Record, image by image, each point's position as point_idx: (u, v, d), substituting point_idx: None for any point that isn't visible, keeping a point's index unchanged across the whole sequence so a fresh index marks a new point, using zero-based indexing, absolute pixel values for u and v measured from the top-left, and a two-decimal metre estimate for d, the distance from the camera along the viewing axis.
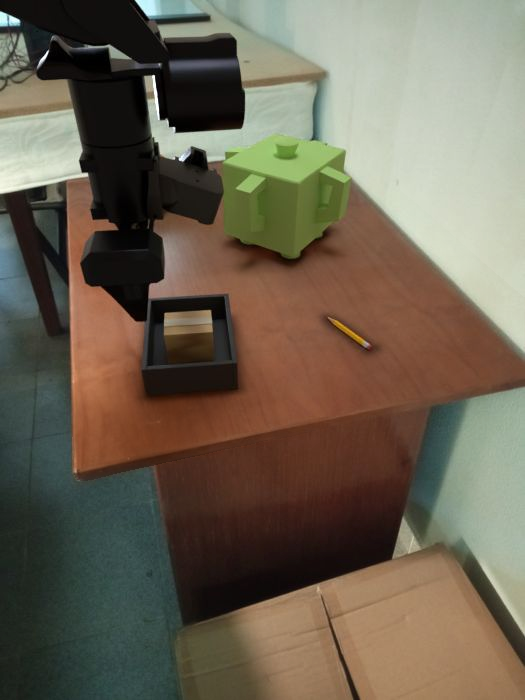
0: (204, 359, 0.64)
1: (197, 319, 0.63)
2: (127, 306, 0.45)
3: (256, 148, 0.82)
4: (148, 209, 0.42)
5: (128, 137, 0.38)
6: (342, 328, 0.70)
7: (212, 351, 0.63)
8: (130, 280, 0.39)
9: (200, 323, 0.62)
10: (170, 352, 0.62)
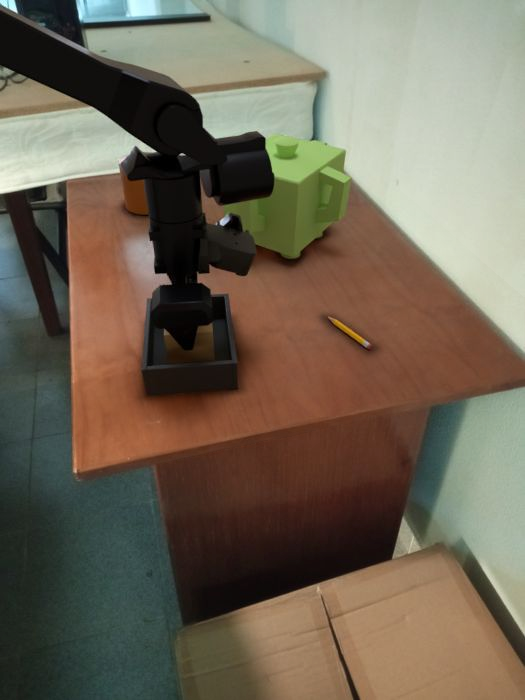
0: (204, 359, 0.64)
1: None
2: (179, 339, 0.57)
3: None
4: (198, 266, 0.54)
5: (191, 214, 0.50)
6: (342, 327, 0.70)
7: (212, 351, 0.63)
8: (188, 323, 0.51)
9: None
10: (170, 352, 0.62)
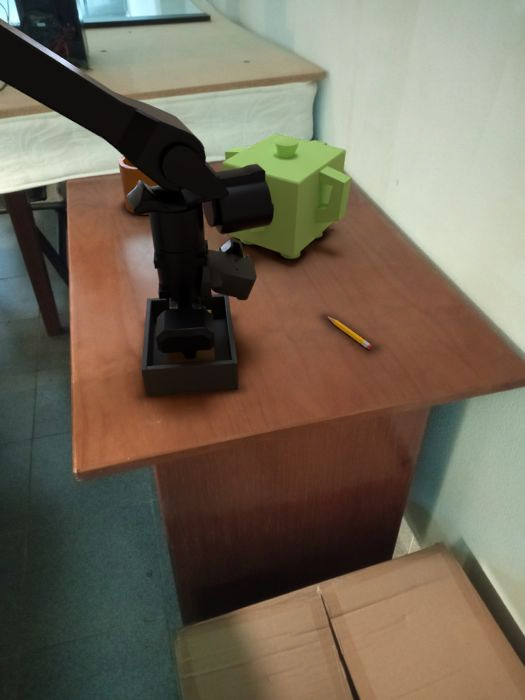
0: (204, 359, 0.64)
1: None
2: None
3: (256, 148, 0.82)
4: (201, 292, 0.56)
5: (194, 244, 0.53)
6: (342, 327, 0.70)
7: (212, 351, 0.63)
8: (191, 348, 0.53)
9: None
10: None
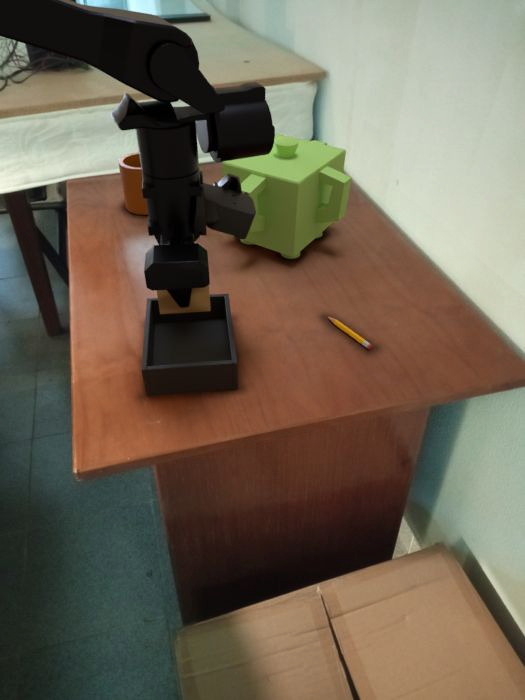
0: (199, 309, 0.59)
1: None
2: (175, 294, 0.56)
3: None
4: (195, 227, 0.51)
5: (187, 169, 0.48)
6: (342, 327, 0.70)
7: (208, 299, 0.58)
8: (183, 285, 0.48)
9: None
10: (162, 300, 0.57)
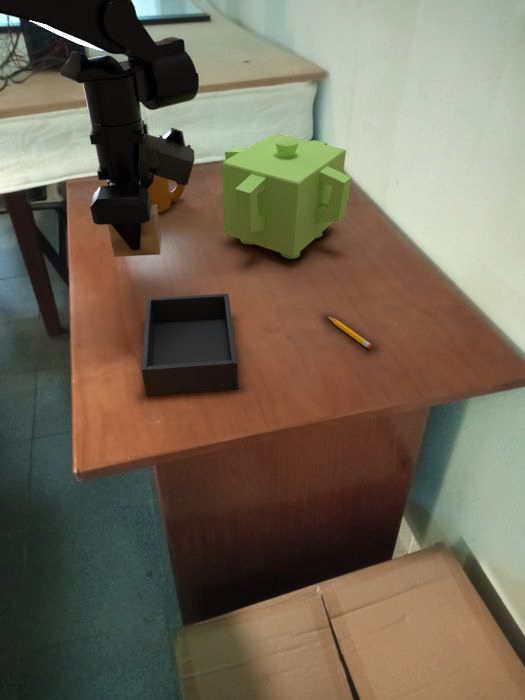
0: (149, 252, 0.66)
1: None
2: (125, 236, 0.62)
3: (256, 148, 0.82)
4: (139, 172, 0.58)
5: (136, 115, 0.55)
6: (342, 327, 0.70)
7: (157, 243, 0.65)
8: (125, 220, 0.55)
9: None
10: (115, 242, 0.64)
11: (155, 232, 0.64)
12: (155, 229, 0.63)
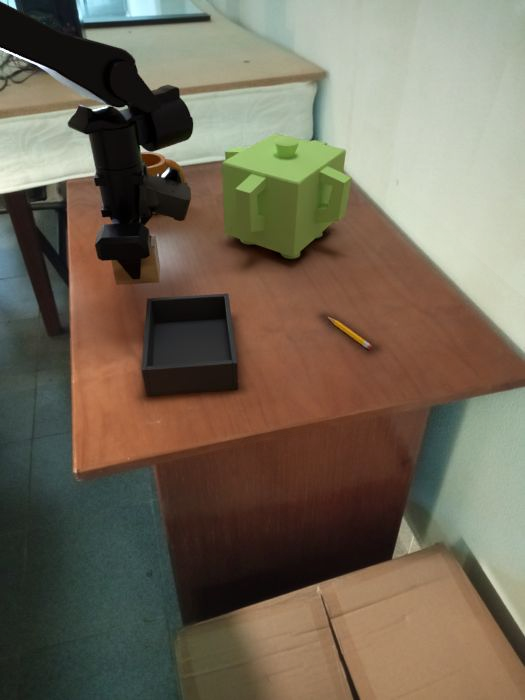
0: (149, 280, 0.70)
1: None
2: (126, 267, 0.67)
3: (256, 148, 0.82)
4: (139, 210, 0.62)
5: (137, 159, 0.60)
6: (342, 328, 0.70)
7: (156, 272, 0.69)
8: (127, 256, 0.59)
9: None
10: (117, 272, 0.69)
11: (154, 263, 0.68)
12: (154, 260, 0.68)
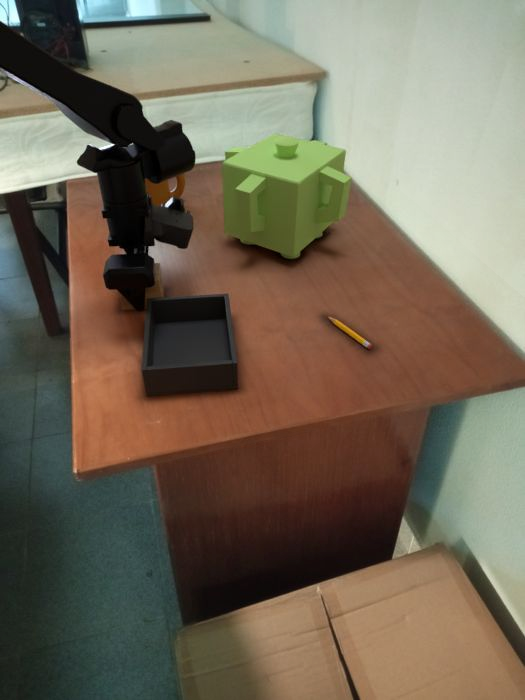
0: None
1: None
2: (131, 300, 0.69)
3: (256, 148, 0.82)
4: (144, 240, 0.65)
5: (142, 193, 0.63)
6: (342, 327, 0.70)
7: None
8: (133, 285, 0.62)
9: None
10: (122, 298, 0.72)
11: (159, 289, 0.71)
12: (159, 287, 0.71)
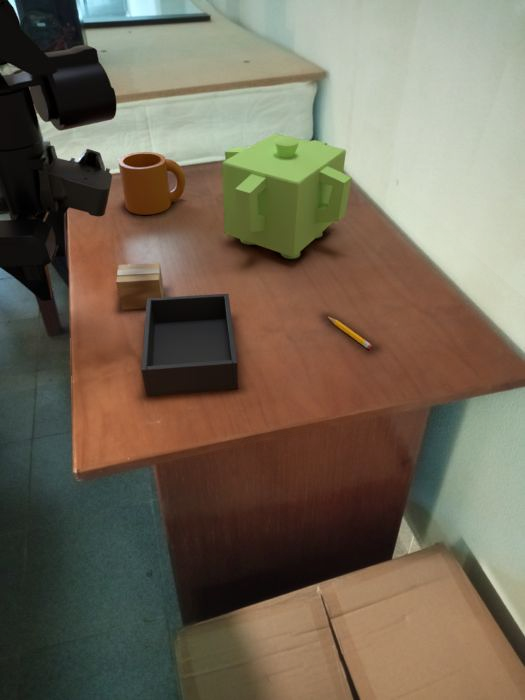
0: None
1: (147, 270, 0.72)
2: (30, 286, 0.52)
3: (256, 148, 0.82)
4: (42, 203, 0.49)
5: (30, 138, 0.46)
6: (342, 327, 0.70)
7: None
8: (20, 262, 0.46)
9: (148, 273, 0.71)
10: (122, 298, 0.72)
11: (159, 289, 0.71)
12: (159, 287, 0.71)
